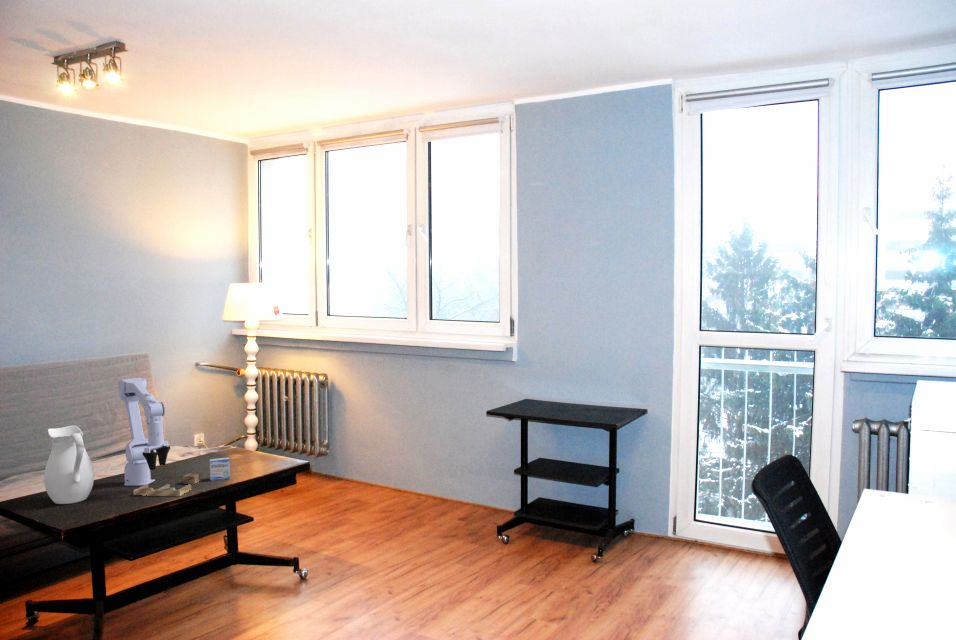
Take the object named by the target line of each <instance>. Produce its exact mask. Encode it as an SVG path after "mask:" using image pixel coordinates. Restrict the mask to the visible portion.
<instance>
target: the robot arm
mask: <svg viewBox="0 0 956 640" xmlns="http://www.w3.org/2000/svg"><path fill="white" fill-rule="evenodd" d="M147 382H148V381H147V380H146V378H145V377H144V376H140V377H132V378H121V379H119V381H118V385H117V387H118V394H119V398H120V401H123V402H124V405H125V408H126V412H127V420H128V426H129V431H130V432H129V433H130V438H131V440H130V441H129V442H128V443H126V445H125V459H126V461H127V463H126V464H125V465H124V469H123V470H124V471H123V472H124V484H123V486H143V485H145V484H148V485H149V484H151V483H153V482H155V481H156V479H154V478H153V479H152V476H151V475H152V473H151V470H152V471H153V470H156V468H157V460H158V464H159V466H166V464H167V460H168V459H167V458H168V454H169V452H170V450H171V446H170V445H169V440H165V438H164V436H165V435H164V424H163V423H164V422H163V421H164V420H163V419H164V418H163V417H164V416H165V412H166V411H165V410H166V409H165V408H166V407H165V404H164V403H163V401H158V400H157V399H156V397H155V396H154V395H153V394H152V393H151V392H148V390H147V388H148V383H147ZM139 405H140V406H141V407H142V409H143V413H144V417H145V423H146V427H147V428H146V429H147V438H146V437H145V435H144V428H143V423H142V417H141V411H140V406H139Z"/></svg>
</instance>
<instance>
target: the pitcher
mask: <svg viewBox="0 0 956 640" xmlns="http://www.w3.org/2000/svg"><path fill="white" fill-rule="evenodd" d="M47 434H48V437H49V438H50V441H51V450H50V454H49V456H48V459H47V462H46V466H45V469H44V477H43V478H44V479H43V482H44V488H45V491H46V493H47V496H48V497H49V498H50V500H51V501H52V502H53V503H54V504H57V505H69V504H75V503H79V502H82V501H85V500H87V498H88V497H89V496H90V493H91V492H92V489H93V486H94V482H95V481H94V480H95V472H94V471H95V470H94V469H95V468H94V465H93V463H92V461H91V457H90V456H89V454H88V452H87V449H86V447H85V444H84V440H83V435H84V432H83V431H82V430H81V428H80V427H79V426H78V425H74V424H73V425H72V424H71V425H67V426H63V427H56V428H48V429H47Z"/></svg>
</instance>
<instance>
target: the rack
mask: <svg viewBox="0 0 956 640" xmlns="http://www.w3.org/2000/svg"><path fill="white" fill-rule="evenodd" d="M189 490H190V491H192V485H191V484H188V485H185V486H183V487H181V488H180V489H176V487H171V485H170V483H167V484H166V485H163V486H161V487H159V488H158V489H154V488H153V487H149V484H145V485H140V486H139V487H138V488H135V489H133V491H132V492H133V496H134V495H142V496H141V497H181V496H183V495H184V493H185V494H186V493H188V492H190V491H189ZM146 495H147V496H146Z"/></svg>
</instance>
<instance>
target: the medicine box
mask: <svg viewBox="0 0 956 640" xmlns="http://www.w3.org/2000/svg"><path fill="white" fill-rule="evenodd" d="M230 462H231V461H230V457H229V456H228V457H220V458H210V459H209V477H210V482H213V481H212V480H218V481H222V480H221V479H226V480H230V479H231V466H230V465H231V464H230Z"/></svg>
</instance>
